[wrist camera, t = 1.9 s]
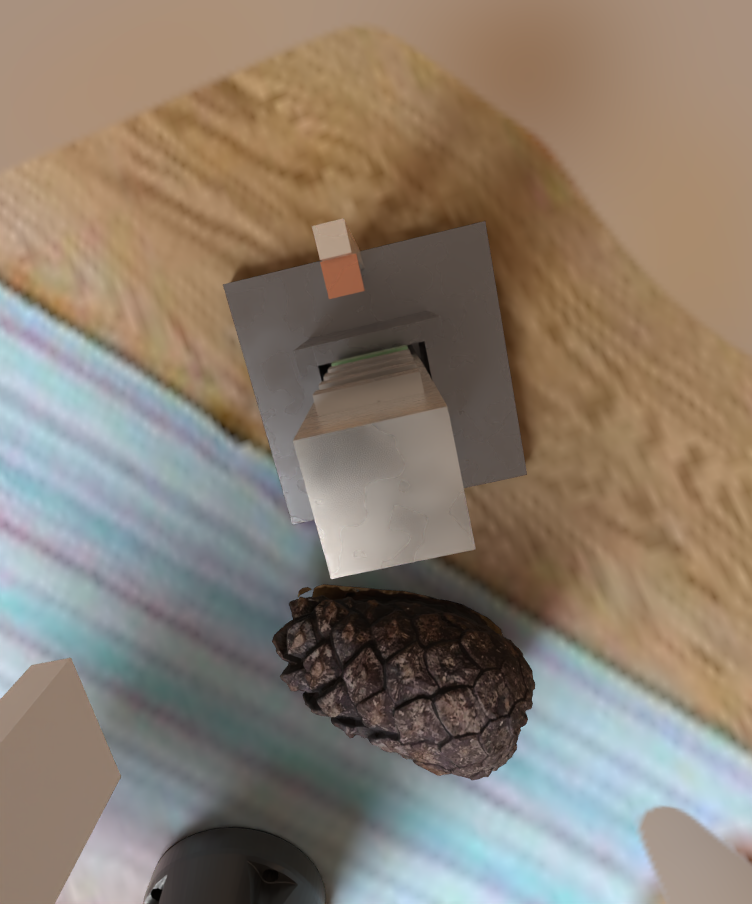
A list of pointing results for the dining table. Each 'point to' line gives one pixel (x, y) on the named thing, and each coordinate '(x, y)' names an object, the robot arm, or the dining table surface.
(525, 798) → the dining table surface
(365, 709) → the pine cone
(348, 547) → the column
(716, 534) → the dining table surface
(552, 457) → the dining table surface
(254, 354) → the stand base
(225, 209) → the dining table surface
